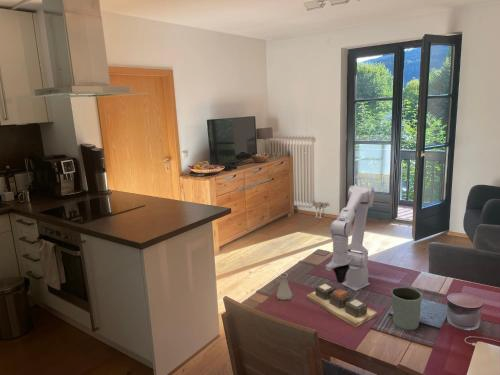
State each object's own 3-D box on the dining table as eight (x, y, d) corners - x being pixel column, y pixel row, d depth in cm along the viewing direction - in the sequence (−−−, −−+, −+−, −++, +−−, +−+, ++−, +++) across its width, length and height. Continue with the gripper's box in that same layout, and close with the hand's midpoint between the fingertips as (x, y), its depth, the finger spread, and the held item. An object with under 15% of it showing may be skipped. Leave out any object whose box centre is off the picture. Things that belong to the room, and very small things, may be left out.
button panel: (326, 289, 160) (326, 278, 159) (377, 315, 139) (377, 303, 138) (306, 298, 154) (306, 287, 153) (355, 327, 133) (356, 315, 131)
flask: (292, 301, 152) (291, 279, 150) (274, 300, 153) (274, 278, 151) (293, 292, 159) (293, 271, 157) (277, 291, 160) (276, 270, 158)
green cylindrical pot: (417, 334, 127) (419, 303, 124) (387, 326, 132) (388, 296, 130) (422, 319, 135) (424, 289, 133) (393, 312, 141) (394, 283, 138)
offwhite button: (325, 290, 155) (325, 283, 154) (331, 293, 152) (331, 287, 151) (319, 293, 153) (319, 286, 152) (325, 296, 150) (325, 289, 149)
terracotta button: (339, 295, 148) (339, 288, 147) (346, 298, 145) (346, 291, 144) (333, 298, 146) (333, 291, 145) (340, 301, 143) (340, 294, 142)
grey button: (355, 306, 142) (355, 299, 141) (363, 310, 139) (363, 303, 138) (349, 309, 140) (349, 302, 139) (356, 313, 137) (356, 306, 136)
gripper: (345, 242, 151) (344, 272, 154) (319, 252, 143) (320, 283, 146) (359, 247, 145) (358, 278, 149) (333, 257, 137) (333, 290, 141)
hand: (340, 281), depth 147 cm, fingers closed
